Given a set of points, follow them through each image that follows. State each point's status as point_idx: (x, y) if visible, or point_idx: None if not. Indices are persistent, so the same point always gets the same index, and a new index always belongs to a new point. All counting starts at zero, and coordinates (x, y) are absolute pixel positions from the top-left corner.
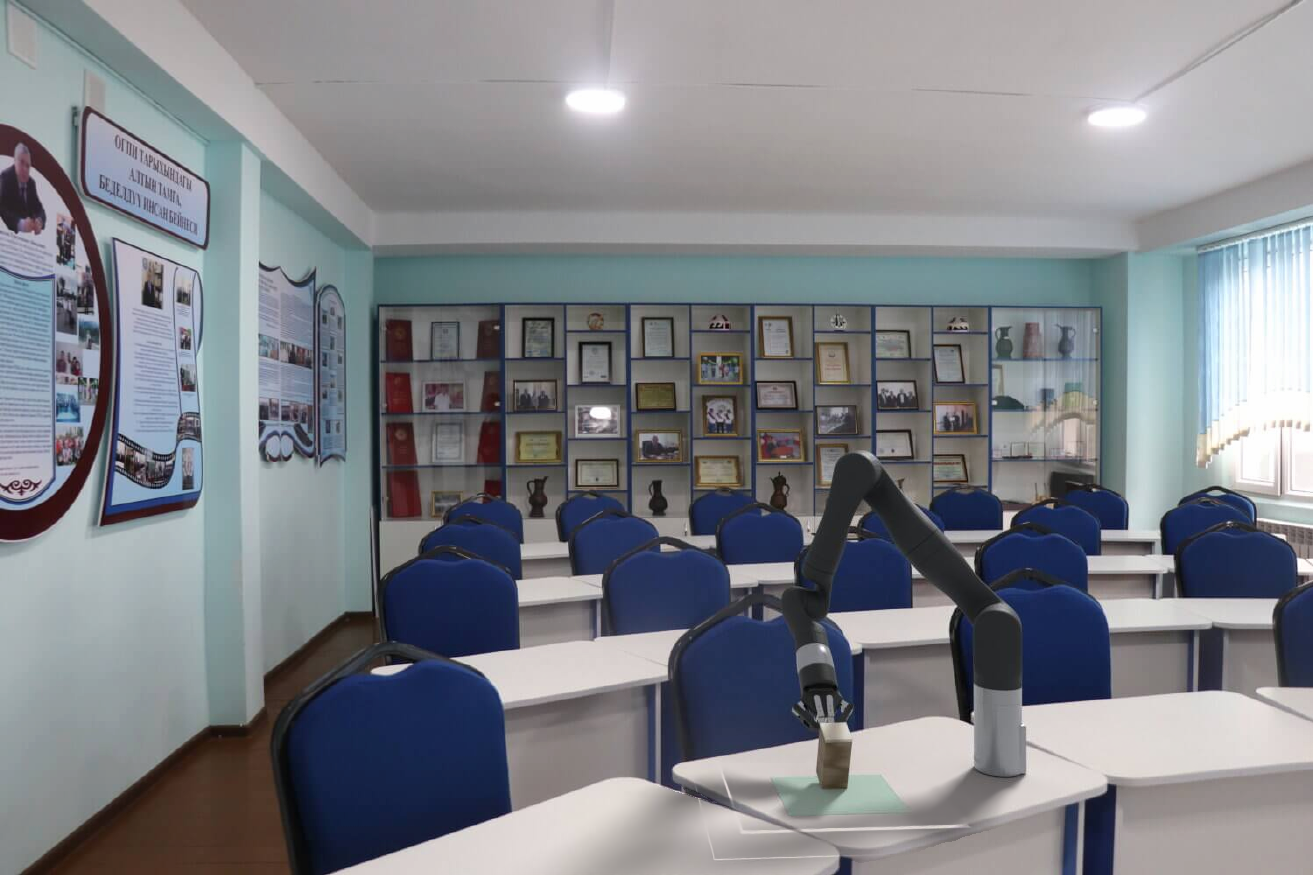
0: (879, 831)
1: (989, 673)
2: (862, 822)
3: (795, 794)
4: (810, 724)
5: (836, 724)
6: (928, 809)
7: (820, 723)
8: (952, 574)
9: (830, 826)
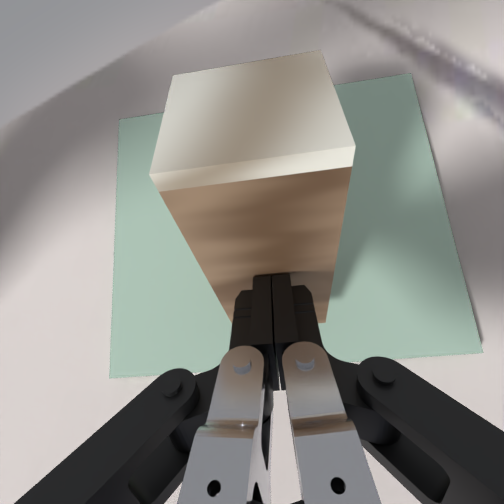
0: (211, 50)
1: None
2: None
3: (393, 205)
4: (406, 372)
5: (228, 147)
6: (74, 163)
7: (353, 143)
8: None
9: None
